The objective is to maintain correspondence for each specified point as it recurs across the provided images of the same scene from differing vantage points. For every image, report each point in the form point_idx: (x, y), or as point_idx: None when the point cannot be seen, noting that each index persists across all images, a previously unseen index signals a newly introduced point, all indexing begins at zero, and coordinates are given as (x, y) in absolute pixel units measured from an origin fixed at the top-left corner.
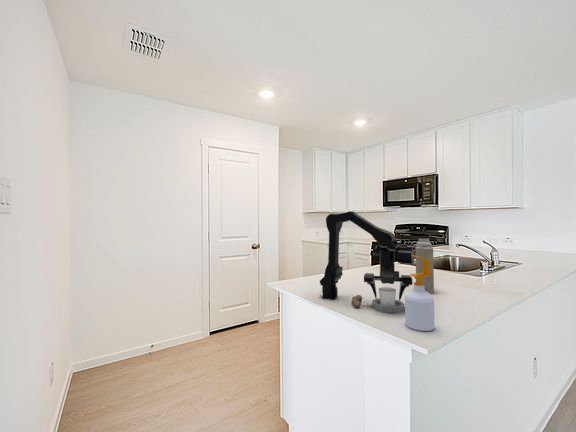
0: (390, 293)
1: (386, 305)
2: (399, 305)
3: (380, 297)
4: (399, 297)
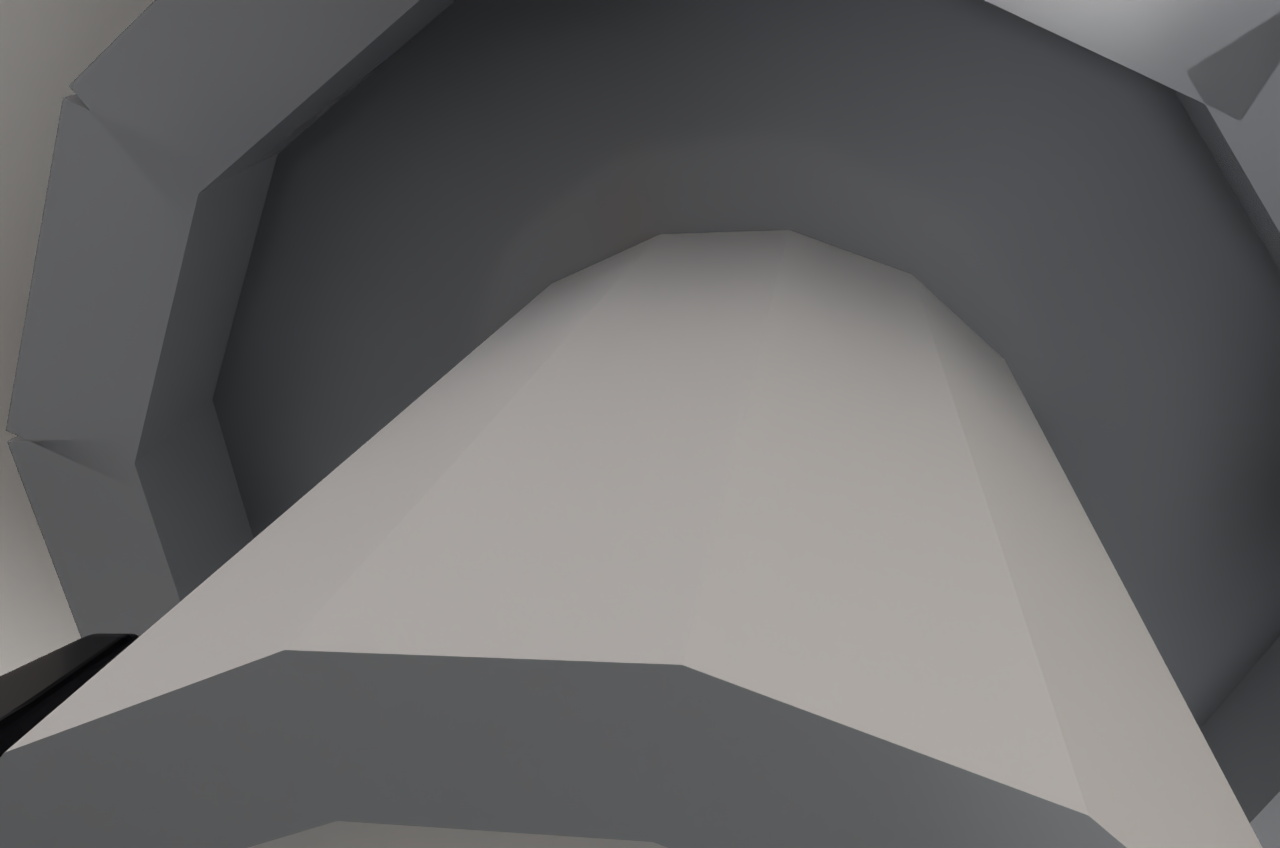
0: (253, 602)
1: (753, 259)
2: (154, 317)
3: (1124, 591)
4: (9, 713)
